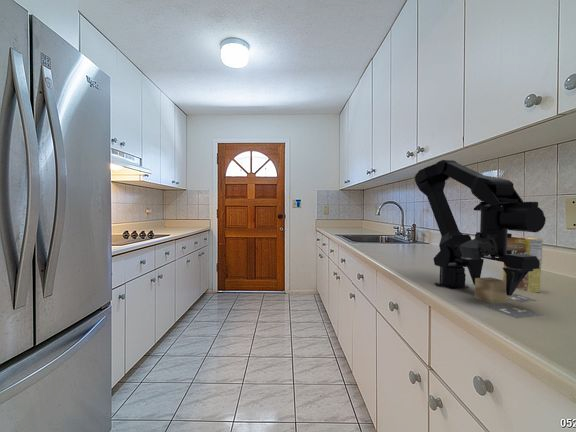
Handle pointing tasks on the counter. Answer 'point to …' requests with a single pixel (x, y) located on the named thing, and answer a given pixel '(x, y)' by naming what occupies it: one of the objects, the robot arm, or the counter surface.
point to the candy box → (528, 248)
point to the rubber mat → (494, 303)
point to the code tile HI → (520, 298)
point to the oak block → (491, 290)
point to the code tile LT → (513, 310)
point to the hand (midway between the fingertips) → (491, 290)
